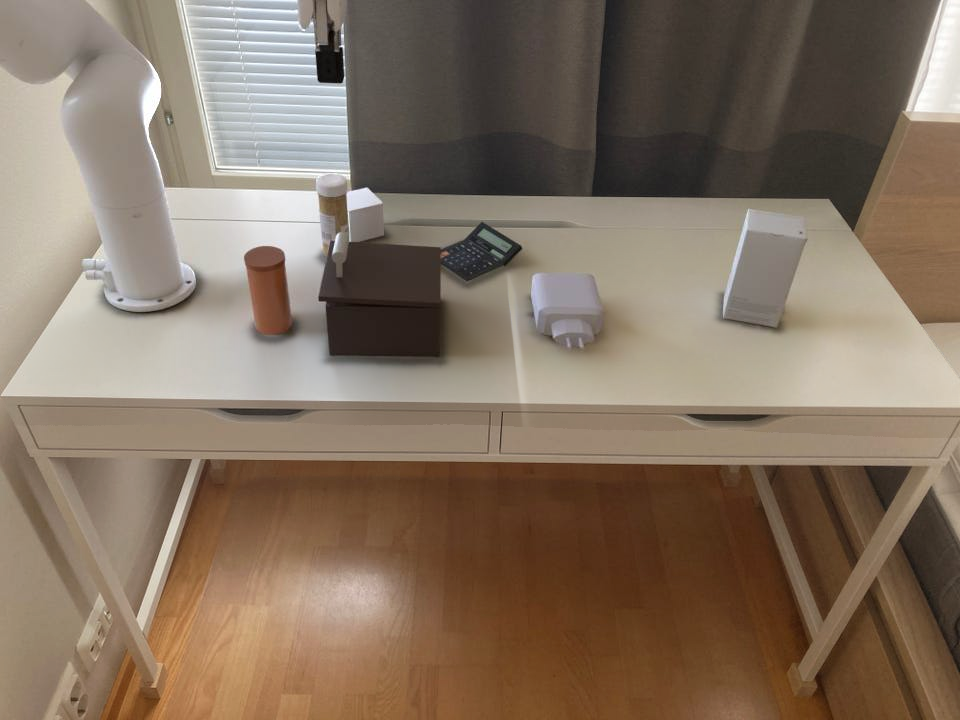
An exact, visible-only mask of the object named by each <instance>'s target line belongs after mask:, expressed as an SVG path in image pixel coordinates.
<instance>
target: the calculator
mask: <svg viewBox="0 0 960 720" xmlns="http://www.w3.org/2000/svg"><path fill="white" fill-rule="evenodd" d="M522 250H523V247H522V245H521V244H520V243H518V242H516V241H514V240H513V239H511V238H510V237H508V236H506V235H505V234H503V233H501V232H499V230H496V229H494V228H493V227H492V226H490V225H489V224H487V223H485V222H483V221H481V222H480V223H479V224H478V225H477V226H476V227H475V228H474V229H473V230H472V231H471V232H470V233H469V234H468V235H467V236H466V237H465V238H464V239H463V240H460V241H458V242H454V243H453V244H450V245H448V246H446V247H445V246H444V247H443V248H441V265H442V266H444V267H445V268H447V269H448V270H449V271H451V272H453V273H454V274H455V275H457V276H459V277H460V278H462V279H463V280H465V281H466V282H468V281H471V280H473V279H475V278H477V277H480V276H482V275H484V274H486V273H489V272H491V271H493V270H496V269H498V268H500V267H502V266H504V267H506V266H507V265H508V264H509V263H510V262H511V261H512V260H513V259H514V258H516V256H517V255H518V254H519V253H520V252H521V251H522Z"/></svg>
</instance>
